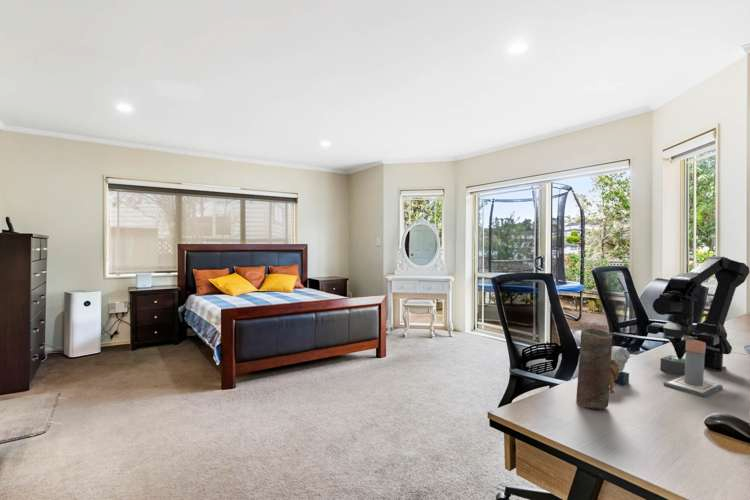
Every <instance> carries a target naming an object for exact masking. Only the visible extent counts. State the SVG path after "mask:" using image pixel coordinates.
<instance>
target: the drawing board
mask: <svg viewBox="0 0 750 500" xmlns="http://www.w3.org/2000/svg"><path fill="white" fill-rule="evenodd" d="M663 386H664V387H667V388H671V389H675V390H678V391H681V392H685V393H689V394H691V395H694V396H699V397H701V398H707V397H708V396H710V395H713V394H715V393H716V392H718V391H720V390H722V389H723V387H724V386H723V384H719V383H715V382H712V381H708V380H705V379H703V386H693V385H689V384H686V383H685V382H684V375H678V376H676V377H673V378H672V379H669V380H667V381H664V382H663Z"/></svg>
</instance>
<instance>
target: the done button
mask: <svg viewBox="0 0 750 500" xmlns="http://www.w3.org/2000/svg"><path fill="white" fill-rule="evenodd" d="M671 360H674V361H678V362H682V363H685V357H683V358H682V359H678V358H677V357H672V359H671Z"/></svg>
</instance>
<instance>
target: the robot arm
mask: <svg viewBox="0 0 750 500" xmlns="http://www.w3.org/2000/svg"><path fill="white" fill-rule="evenodd" d="M749 274H750V268H749V265H748V266H747V264H746V263H744V262H740V261H737V260H732V259H730V258H728V257H726V256H716V255H715V256H714V255H713V256H712V255H711V256H708V257H707V258H706V260H705V261H703V262H702V263H700V264H699V265H697V266H696V267H694V268H693V269H692V270H690V271H687V272H686V273H679V274H675V275H674V276H672V277H671V278H670V279H669V281H668V282H667V284H666V286H665V287H664V289H663V291H662V293H660V294H659V296H658V297H657V298H656V299H655V300H653V303H652V308H653V310H654V312H655V313H656V314H658V315H661V316H662V315H663V316H666V315H669V318H668V319H669V320H668V322H666V323H665V324H664V325H663V324H658V323H652V324H648V325H647V326H646V331H645V332H646V333H647V334H651V335H652V334H653V335H658V334H659V333H662V334H663V335H664V336H665V337H664V338H665V339H666V340H668V341H669V342H670V343H671V346H673V350H674V352H675V354H676V355H675V356H677V358H678V359H682V358H684V355H686V350H685V349H686V340H698V341H702V342H705V343H706V347H705V357H704V369H705V368H706V369H709V370H712V371H717V372H722V371H725V370H726V369H727V367H726V366H724V365H723V363H724V362H723V361H724V355H730V354H731V353H732V351H733V346H732V345H731V343H730V342H729V341H728V339H727V337H728V333H727V331H726V327H725V322H726V320H727V319H726V318H727V316H728V315H729V310H730V307H731V303H732V301H733V298H734V295H735V292H736V289H737V288H738V287H739V286H741V285H742V284H744V283H745V282H746V279H747V277H748V276H749ZM712 276H714V277H715V280H716V283H717V284H716V288H715V292H714V294H713V297H712V300H711V303H710V305H709V309H708V312H707V315H706V318H705V320H703V321H702V322H701V321H700V322H697V323H696V324H695V328H693V323H694V321H695V317H694V305H695V301H696V302H697V301H699V300H698V298H697V297H696V296H695V295H696V294H697V293H698V292H699V291H700V290H701V289H702V284H703V283H704V282H705V281H706V280H707V281H708V279H709V278H711V277H712Z"/></svg>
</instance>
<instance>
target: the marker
mask: <svg viewBox="0 0 750 500" xmlns="http://www.w3.org/2000/svg"><path fill="white" fill-rule="evenodd" d="M705 347H706V343H705V342H702V341H698V340H686V349H685V350H686V352H685V357H684V358H685V375H684V382H685V383H686V384H689V385H693V386H703V380H704V372H705V368H704V357H705Z"/></svg>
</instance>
